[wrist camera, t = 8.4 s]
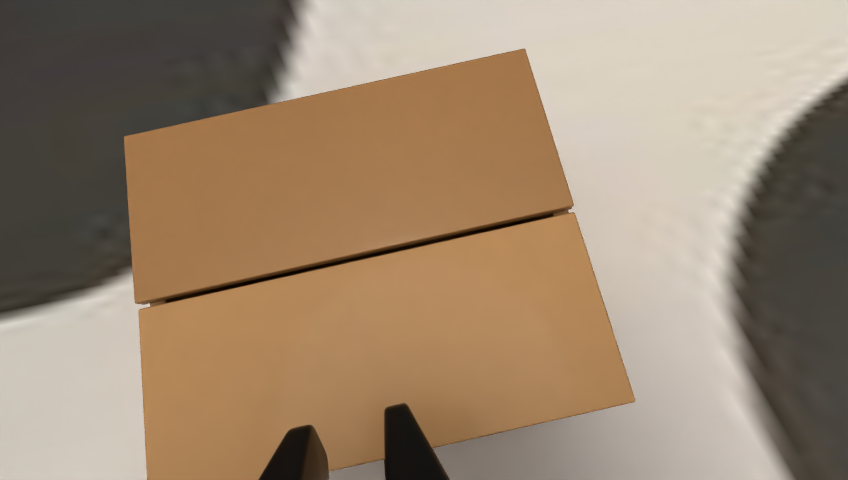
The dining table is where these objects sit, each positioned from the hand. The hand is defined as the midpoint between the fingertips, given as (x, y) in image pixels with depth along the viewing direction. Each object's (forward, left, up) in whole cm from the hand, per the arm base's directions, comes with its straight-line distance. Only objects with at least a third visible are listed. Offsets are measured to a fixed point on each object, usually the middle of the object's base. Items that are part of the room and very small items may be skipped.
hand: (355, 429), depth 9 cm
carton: (+2, -4, -13) cm, 14 cm away
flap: (+1, -1, -5) cm, 5 cm away
